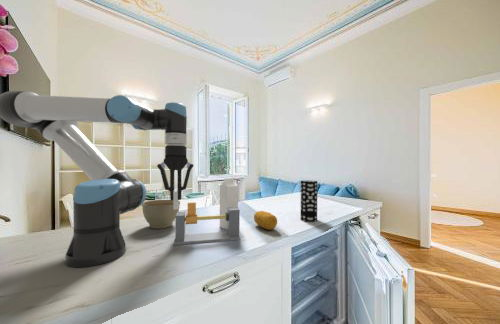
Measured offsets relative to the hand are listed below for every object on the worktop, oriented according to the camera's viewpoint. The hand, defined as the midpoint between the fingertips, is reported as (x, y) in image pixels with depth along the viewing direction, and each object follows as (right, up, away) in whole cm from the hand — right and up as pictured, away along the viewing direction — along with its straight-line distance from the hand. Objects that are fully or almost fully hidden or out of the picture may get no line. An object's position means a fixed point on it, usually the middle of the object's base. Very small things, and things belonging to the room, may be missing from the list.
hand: (175, 208), depth 79 cm
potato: (+35, -13, +17) cm, 40 cm away
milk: (+18, -12, +18) cm, 28 cm away
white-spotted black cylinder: (+58, -13, +31) cm, 67 cm away
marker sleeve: (+6, -6, +1) cm, 8 cm away
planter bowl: (-13, -12, +18) cm, 26 cm away
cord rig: (+11, -12, +3) cm, 17 cm away
